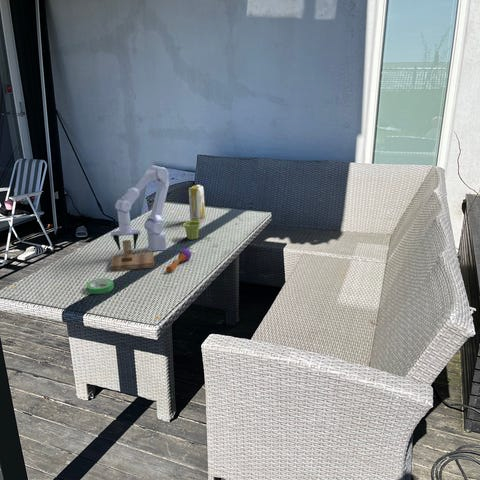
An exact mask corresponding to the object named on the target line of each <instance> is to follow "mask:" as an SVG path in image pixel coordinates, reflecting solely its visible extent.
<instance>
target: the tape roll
mask: <svg viewBox="0 0 480 480" xmlns="http://www.w3.org/2000/svg"><path fill="white" fill-rule="evenodd" d="M101 285H103V286H101ZM114 287H115V286H114V281H113V279H111V278H107V277H105V278H97V279H96V278H95V279H94V280H91V281H89V282H88V283H87V284H86V291H87V292H88V293H89V294H92V295H102V294H105V293H109V292H111V291H112V290H113V289H114Z"/></svg>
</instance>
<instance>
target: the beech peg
mask: <svg viewBox="0 0 480 480" xmlns="http://www.w3.org/2000/svg"><path fill="white" fill-rule="evenodd" d="M122 248H123V255H130V254H133V251H132V240H131V239H124V240H123V241H122Z"/></svg>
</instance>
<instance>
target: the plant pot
mask: <svg viewBox="0 0 480 480" xmlns="http://www.w3.org/2000/svg"><path fill="white" fill-rule="evenodd" d="M200 225H201V224H200V222H196V221H191V220H190V221H186V222H184V223H183V226H184V229H185V233H186V238H187V240H197V239H199V231H200V229H199V228H200Z"/></svg>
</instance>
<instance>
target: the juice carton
mask: <svg viewBox="0 0 480 480" xmlns="http://www.w3.org/2000/svg"><path fill="white" fill-rule="evenodd" d="M188 201H189V202H188V203H189V205H188V206H189V219H190V222H191V221H196V222H200V225H201V224H202V223H203V222H205V221H206V220H205V219H206V217H205V216H206V214H205V213H206V212H205V211H206V209H205V189H204V186H203V185H201V184H196V185H193V186H192V187H189V188H188Z"/></svg>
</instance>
